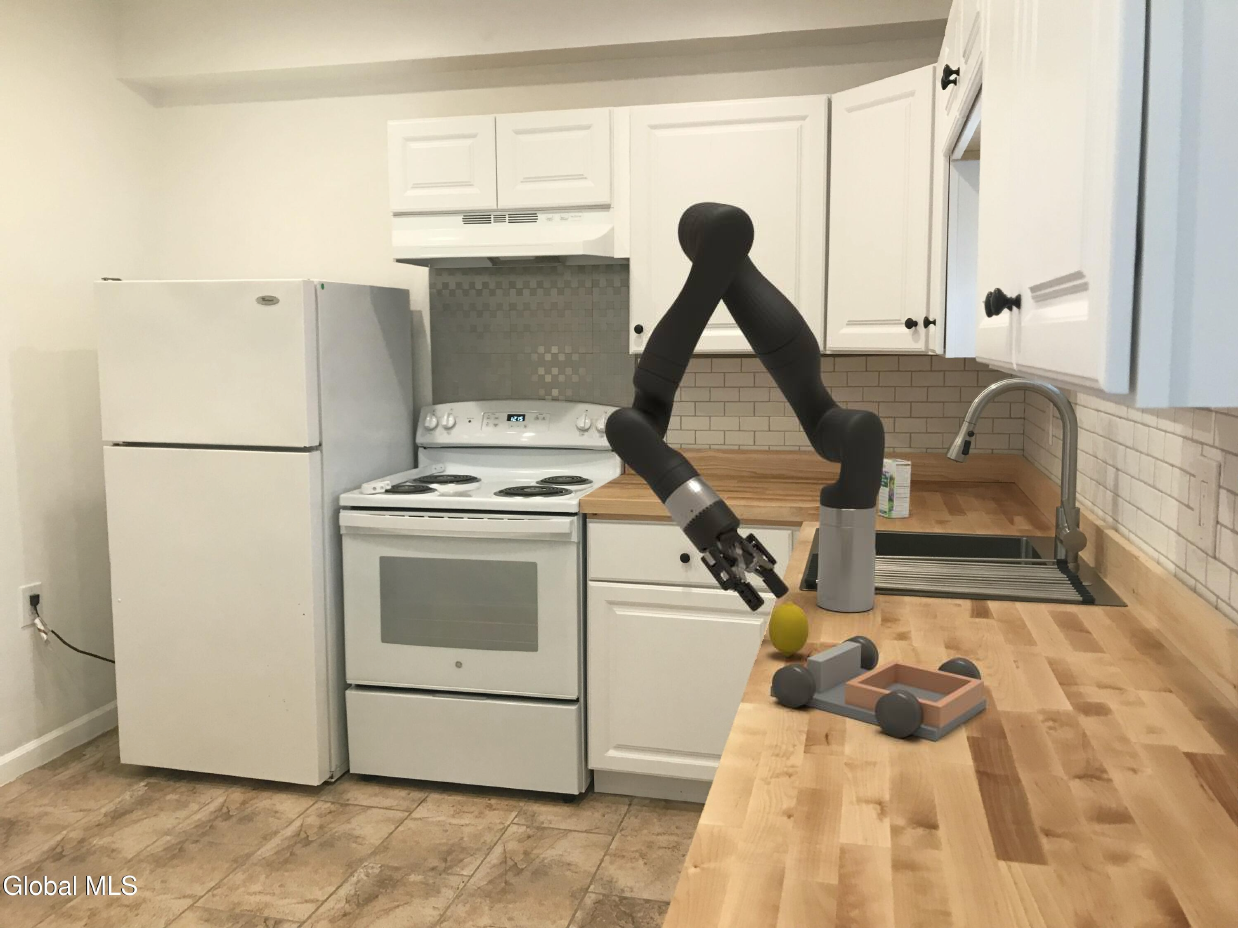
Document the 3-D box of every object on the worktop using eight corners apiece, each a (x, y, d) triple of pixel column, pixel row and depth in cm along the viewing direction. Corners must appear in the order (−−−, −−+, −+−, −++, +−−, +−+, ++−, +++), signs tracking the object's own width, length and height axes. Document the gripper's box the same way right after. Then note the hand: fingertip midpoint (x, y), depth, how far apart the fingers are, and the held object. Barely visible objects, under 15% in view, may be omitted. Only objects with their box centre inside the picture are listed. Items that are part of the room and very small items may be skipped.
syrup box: (877, 515, 260) (879, 458, 259) (897, 513, 262) (899, 458, 260) (889, 518, 255) (891, 461, 253) (910, 517, 257) (912, 460, 255)
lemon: (778, 664, 141) (779, 607, 140) (762, 652, 146) (763, 598, 145) (814, 660, 142) (816, 605, 142) (797, 649, 148) (798, 595, 147)
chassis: (835, 665, 140) (836, 628, 140) (992, 703, 126) (994, 662, 125) (761, 699, 127) (762, 659, 127) (927, 746, 113) (929, 701, 112)
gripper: (695, 504, 142) (769, 595, 137) (739, 491, 154) (809, 575, 149) (661, 537, 145) (733, 628, 141) (707, 523, 157) (774, 605, 152)
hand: (772, 601), depth 145 cm, fingers open, 8 cm apart
